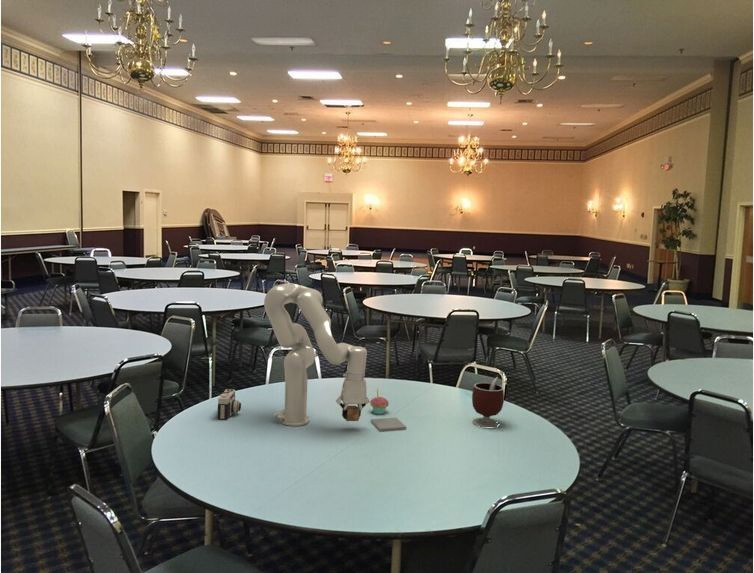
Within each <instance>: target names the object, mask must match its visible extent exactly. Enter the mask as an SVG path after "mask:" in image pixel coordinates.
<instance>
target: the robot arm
mask: <svg viewBox="0 0 754 573" xmlns="http://www.w3.org/2000/svg"><path fill="white" fill-rule="evenodd" d="M323 300H324V299H323V296H322V294H321V292H320V291H318V290H317V289H314V288H312V287H307V286H304V285H301V284H300V285H299V284H296V283H293V282H292V283H290V282H288V283H283V284H278V285H276V286H273V287H271V289H269V290H268V291H267V293H266V295H265V297H264V301H263V304H264V305H263V306H264V311H265V313H266V315H267V317H268V319H269V321H270V325H271V328H272V329H273V332H274V334H275V338H276V339H277V342H278V344H279V345H280V347H281V348H283V349H291V351H289V352H288V353H287V354H286V355H285V358H284V360H283V368H284V406H283V407H284V408H283V410H282V411H280V412H274V413H272V414H273V415H272V417H273V418H274V419H279V421H280V423H281V424H283V425H285V426H291V427H299V426H305V425H308V424H310V422H311V418H310V416H308V415H307V409H308V407H307V405H308V404H307V403H308V372H307V369H308V367H310V366H311V365H313V364H314V362H315V359H316V353H315V349H314V348H313V344H312V342H311V340H310V338H309V335H308V333H307V330H306V329H305V328H304V326H303V325H301V324H300V323H297V322H293V320H292V318H291V315H290V314H289V312H288V311H287V309H286V308H285V305H287V304H289V303H291V304H296V305H297V307H298V308H299V310H300V311H301V313H302V315H303V316H304V318H305V319H306V320H307V322H308V324H309V326H310V327H311V329H312V330H313V334H314V337H315V341H316V344H317V346H318V348H319V350H320V352H321V353H322V355H323V357H324V358H325V359H326V360H327V362H328V363H329V364H331V365H333V366H334V365H335V366H337V365H340V364H342V363H344V362H346V361H347V368H346V372H345V373H343V374H342V376H343V377H345V378H344V379H343V382H342V386H341V393H340V395H339V396H338V397H337V398H336V400H335V403H336V404H337V405H339V406H340V408H342V410H341V412H342V413H341V416H342V418H343V419H344V420H346V418H347V406H349V405H356V406H357V407H358V408H359V409H360V410H359V418H360V417H361V415H362V410H363V409H364V408H365V407H366V405H367V404H370V401H371V400H370V399H369V398H368V396H367V380H366V379H365V376H366V375H365V372H366V367H367V366H366V364H367V354H368V350H367V348H365V347H363V346H357V345H355V346H354V345H351V344H348V343H346V342H339V343H337V342H336V341H335V338H334V337H333V335H332V334H333V333H332V331H331V327H332V325H331V324H332V320H331V317H330V316H329V315H328V313H327V312H326V309H325V308H324V307H323V305H322V304H323Z"/></svg>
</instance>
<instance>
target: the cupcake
mask: <svg viewBox="0 0 754 573" xmlns="http://www.w3.org/2000/svg"><path fill="white" fill-rule="evenodd" d="M379 395H380V394H379V389H378V387H377V388H376V397H373V398H372V399H370V400H369V401H370V402H369V404H370V406H371V407H372V411H373V414H376V415H383V414H384V413H385V411H386V409H387V407H389V401H388V400H387V399H386V398H385V397H382V396H379Z"/></svg>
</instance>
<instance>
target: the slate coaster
mask: <svg viewBox="0 0 754 573" xmlns="http://www.w3.org/2000/svg"><path fill="white" fill-rule="evenodd" d="M370 423H371V424H372V425H373V426H374V428H376V429H377V431H379V432H381V433H382V432H391V431H393V432H394V431H403V430H407V425H405V424H404V423H403V422H401V420H399V419H398V418H397V417H386V418H373V419H372V418H371V419H370Z"/></svg>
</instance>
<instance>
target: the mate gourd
mask: <svg viewBox="0 0 754 573" xmlns="http://www.w3.org/2000/svg"><path fill="white" fill-rule="evenodd" d="M498 379H499V376H496V377H495V378H494V379H493V380H492V381H491V383H490V382H476V383H474V385H473V389H472V395H471V396H472V397H471V402H472V408H473V410H474V411H475V412H476V413H477V414H479V415H480V416H482V417H476V418H473V419H472V422H471V423H472V424H473V425H474V424H475V425H477V426H480V427H479V428H481V427H497V425H498V424H499V423H500V421H498V420H495V419H493V418H490V417H494V416H498V415H499V413H500V412H501V411H502V410H503V406H504V402H505V401H504V400H505V393H504V392H505V391H504V386H502V385H500V384H497V381H498ZM497 421H498V423H496V422H497ZM475 425H474V426H475ZM477 426H476V427H477Z"/></svg>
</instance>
